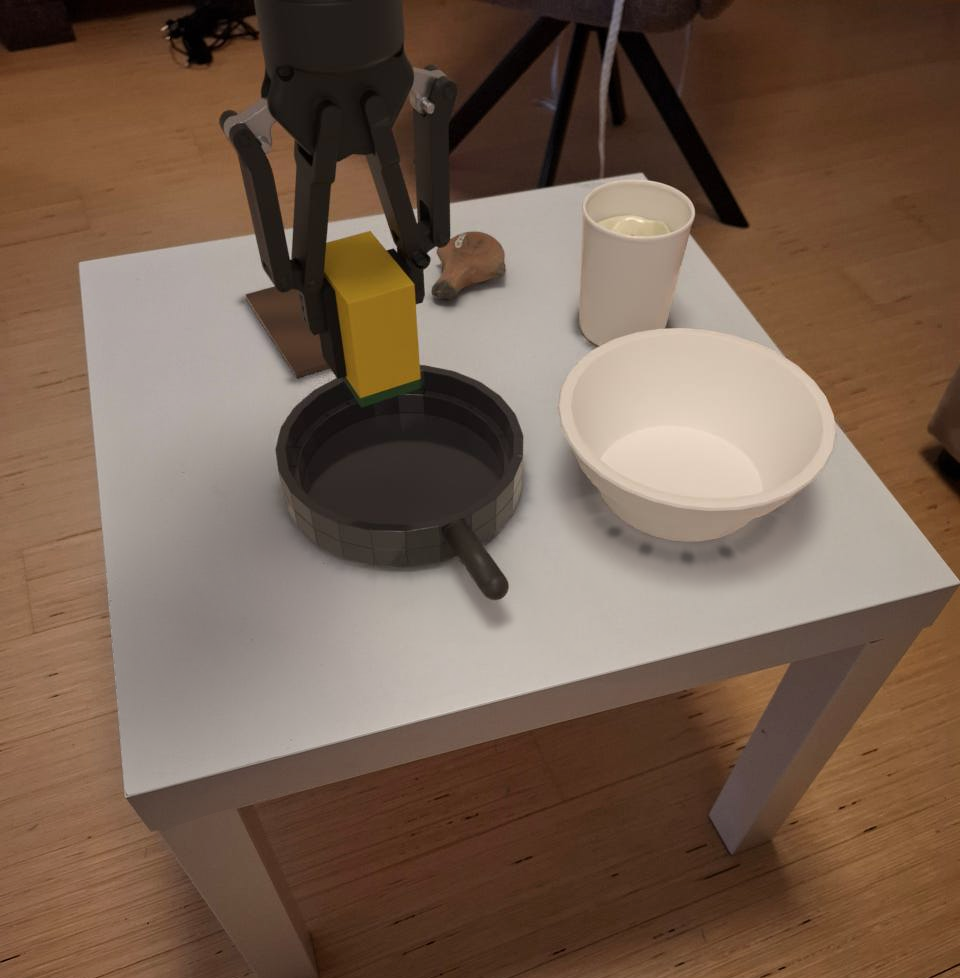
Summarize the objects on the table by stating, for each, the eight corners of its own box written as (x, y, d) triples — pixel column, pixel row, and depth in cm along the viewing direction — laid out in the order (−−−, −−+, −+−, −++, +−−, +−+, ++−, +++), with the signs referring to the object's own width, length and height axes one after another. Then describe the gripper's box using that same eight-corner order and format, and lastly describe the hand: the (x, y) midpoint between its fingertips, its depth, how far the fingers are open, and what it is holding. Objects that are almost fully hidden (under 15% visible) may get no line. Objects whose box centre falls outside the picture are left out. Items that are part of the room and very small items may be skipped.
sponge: (323, 351, 67) (306, 247, 61) (381, 333, 69) (370, 230, 62) (361, 408, 64) (347, 303, 57) (421, 388, 65) (414, 284, 59)
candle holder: (643, 288, 95) (662, 170, 86) (690, 344, 90) (716, 224, 80) (555, 309, 93) (564, 190, 84) (597, 366, 88) (612, 247, 78)
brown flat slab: (246, 299, 94) (245, 294, 94) (338, 273, 97) (338, 268, 96) (296, 378, 87) (295, 373, 86) (395, 347, 89) (395, 342, 89)
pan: (252, 448, 81) (242, 406, 77) (455, 382, 86) (455, 340, 83) (339, 606, 70) (332, 566, 67) (564, 519, 76) (569, 478, 72)
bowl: (727, 384, 86) (748, 305, 80) (857, 543, 74) (894, 466, 68) (514, 436, 82) (517, 357, 75) (616, 614, 70) (630, 539, 64)
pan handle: (439, 536, 71) (438, 518, 70) (463, 527, 72) (462, 509, 70) (488, 609, 67) (489, 591, 66) (513, 599, 68) (514, 581, 66)
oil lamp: (413, 275, 98) (440, 318, 94) (406, 240, 95) (434, 283, 90) (492, 247, 99) (522, 288, 95) (488, 212, 96) (519, 253, 91)
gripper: (172, 21, 42) (268, 426, 61) (515, -45, 47) (506, 349, 66) (129, -34, 46) (231, 362, 65) (449, -90, 51) (458, 294, 70)
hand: (369, 355), depth 65 cm, fingers closed on sponge, 4 cm apart
